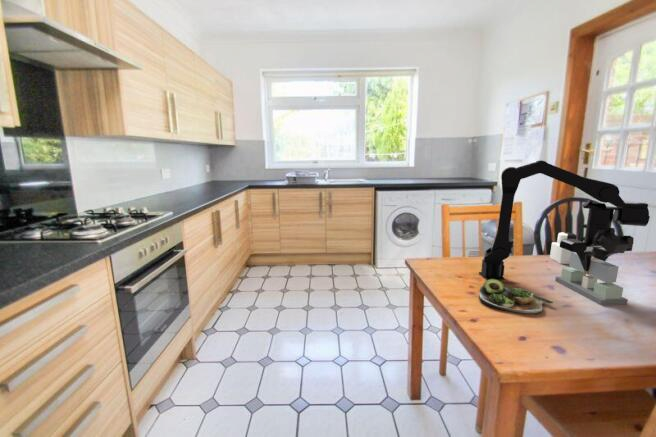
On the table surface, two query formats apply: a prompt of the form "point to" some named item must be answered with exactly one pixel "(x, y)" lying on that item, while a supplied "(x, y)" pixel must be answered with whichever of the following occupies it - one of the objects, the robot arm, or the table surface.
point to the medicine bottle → (561, 249)
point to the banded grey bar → (596, 268)
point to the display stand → (591, 287)
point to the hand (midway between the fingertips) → (591, 270)
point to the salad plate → (509, 297)
